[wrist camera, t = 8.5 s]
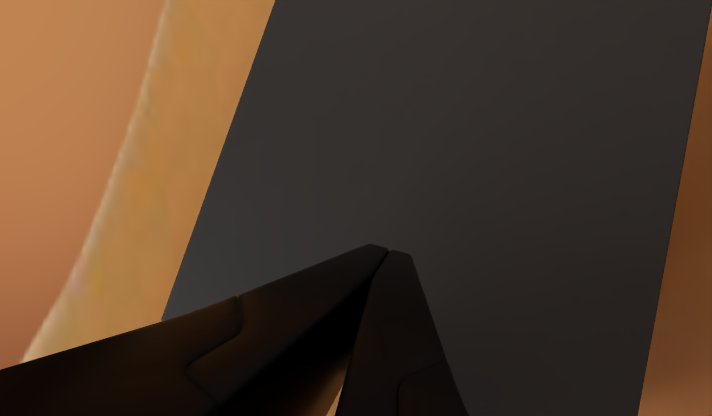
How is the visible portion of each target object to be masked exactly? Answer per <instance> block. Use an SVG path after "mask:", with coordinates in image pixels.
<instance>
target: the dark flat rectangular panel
mask: <svg viewBox="0 0 712 416" xmlns="http://www.w3.org/2000/svg"><path fill="white" fill-rule="evenodd" d="M711 8H712V0H275V3H274V6H273V8H272V11H271V14H270V17H269V20H268V22H267V25H266V28H265V31H264V34H263V36H262V39H261V42H260V45H259V48H258V50H257V53H256V56H255V59H254V62H253V64H252V67H251V70H250V73H249V76H248V78H247V81H246V84H245V87H244V90H243V92H242V95H241V98H240V101H239V104H238V106H237V109H236V112H235V115H234V118H233V120H232V123H231V126H230V129H229V132H228V134H227V137H226V140H225V143H224V145H223V148H222V151H221V154H220V157H219V159H218V162H217V165H216V168H215V171H214V173H213V176H212V179H211V182H210V185H209V187H208V190H207V193H206V196H205V199H204V201H203V204H202V207H201V210H200V213H199V215H198V218H197V221H196V224H195V227H194V229H193V232H192V235H191V238H190V241H189V243H188V246H187V249H186V252H185V255H184V257H183V260H182V263H181V266H180V269H179V271H178V274H177V277H176V280H175V283H174V285H173V288H172V291H171V294H170V297H169V299H168V302H167V305H166V308H165V311H164V313H163V316H162V319H161V321H165V320H168V319H171V318H175V317H178V316H181V315H184V314H187V313H190V312H193V311H196V310H198V309H201V308H204V307H206V306H209V305H212V304H215V303H217V302H220V301H222V300H225V299H228V298H230V297H233V296H237V297H238V295H240V294H242V293H245V292H247V291H250V290H252V289H255V288H257V287H260V286H262V285H265V284H268V283H270V282H273V281H275V280H278V279H280V278H283V277H285V276H288V275H290V274H293V273H295V272H298V271H300V270H303V269H306V268H308V267H311V266H313V265H316V264H318V263H321V262H323V261H326V260H328V259H331V258H333V257H336V256H338V255H341V254H343V253H346V252H349V251H351V250H354V249H356V248H359V247H361V246H364V245H366V244H375V245H378V246H382V247H386V248H388V250H389V251H390V250H397V251H401V252H404V253H408V254H410V255H411V256H412V259H413V262H414V265H415V268H416V271H417V274H418V276H419V279H420V282H421V285H422V288H423V291H424V294H425V297H426V300H427V303H428V306H429V309H430V312H431V315H432V318H433V321H434V324H435V327H436V330H437V332H438V335H439V338H440V341H441V344H442V347H443V350H444V353H445V356H446V359H447V362H448V363H449V366H450V369H451V372H452V375H453V378H454V381H455V383H456V386H457V388H458V391H459V393H460V396H461V398H462V401H463V404H464V406H465V408H466V410H467V412H468V414H469V416H638V410H639V405H640V399H641V394H642V388H643V383H644V377H645V371H646V366H647V360H648V355H649V349H650V344H651V338H652V333H653V327H654V322H655V316H656V311H657V305H658V300H659V294H660V289H661V283H662V278H663V272H664V267H665V261H666V256H667V250H668V245H669V239H670V234H671V228H672V223H673V217H674V212H675V206H676V201H677V195H678V190H679V184H680V179H681V173H682V168H683V162H684V156H685V151H686V145H687V140H688V134H689V129H690V123H691V118H692V112H693V107H694V101H695V96H696V90H697V85H698V79H699V74H700V68H701V63H702V57H703V52H704V46H705V41H706V35H707V30H708V24H709V19H710V13H711Z"/></svg>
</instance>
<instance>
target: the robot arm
mask: <svg viewBox="0 0 712 416" xmlns="http://www.w3.org/2000/svg"><path fill="white" fill-rule="evenodd" d="M342 385H343V387H342ZM341 387H342V391H341V395H340V398H339V402H338V406H337V409H336V413H335V416H469V414H468V412H467V410H466V408H465V406H464V404H463V401H462V398H461V396H460V393H459V391H458V388H457V386H456V383H455V381H454V378H453V375H452V372H451V369H450V366H449V363H448V362H447V359H446V356H445V353H444V350H443V347H442V344H441V341H440V338H439V335H438V332H437V330H436V327H435V324H434V321H433V318H432V315H431V312H430V309H429V306H428V303H427V300H426V297H425V294H424V291H423V288H422V285H421V282H420V279H419V276H418V274H417V271H416V268H415V265H414V262H413V259H412V256H411V255H410V254H408V253H404V252H401V251H397V250H390V251H389V250H388V248H386V247H382V246H378V245H375V244H366V245H364V246H361V247H359V248H356V249H354V250H351V251H349V252H346V253H343V254H341V255H338V256H336V257H333V258H331V259H328V260H326V261H323V262H321V263H318V264H316V265H313V266H311V267H308V268H306V269H303V270H300V271H298V272H295V273H293V274H290V275H288V276H285V277H283V278H280V279H278V280H275V281H273V282H270V283H268V284H265V285H262V286H260V287H257V288H255V289H252V290H250V291H247V292H245V293H242V294H240V295H238V297H237V296H233V297H230V298H228V299H225V300H222V301H220V302H217V303H215V304H212V305H209V306H206V307H204V308H201V309H198V310H196V311H193V312H190V313H187V314H184V315H181V316H178V317H175V318H171V319H168V320H165V321H162V322H159V323H156V324H152V325H149V326H146V327H142V328H139V329H136V330H132V331H129V332H126V333H122V334H119V335H116V336H112V337H109V338H105V339H102V340H99V341H95V342H92V343H89V344H85V345H82V346H79V347H75V348H72V349H69V350H65V351H62V352H58V353H55V354H52V355H48V356H45V357H42V358H38V359H35V360H32V361H28V362H25V363H22V364H18V365H15V366H12V367H8V368H5V369H1V370H0V416H326V415H327V413H328V411H329V409H330V407H331V405H332V404H333V402H334V400H335V398H336V396H337V394H338V392H339V391H340V389H341Z"/></svg>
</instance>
